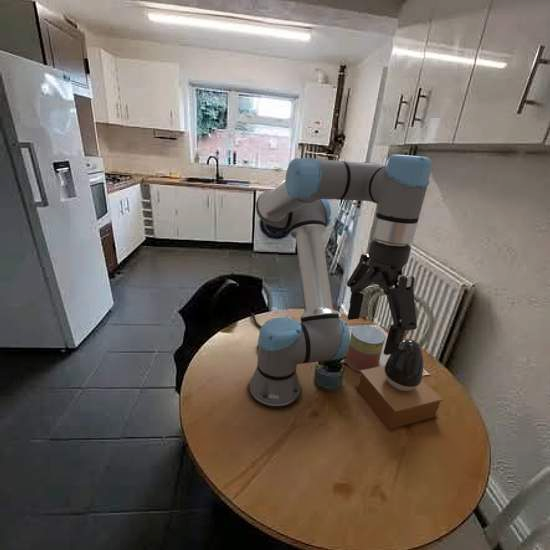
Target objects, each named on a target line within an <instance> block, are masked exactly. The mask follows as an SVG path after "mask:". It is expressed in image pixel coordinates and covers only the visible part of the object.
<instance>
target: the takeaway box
mask: <svg viewBox="0 0 550 550" xmlns="http://www.w3.org/2000/svg"><path fill="white" fill-rule="evenodd" d="M384 369H385V365H382V366H378V367H375V368H370V369H365V370H360V372H359V373H360V375H359V380H358V385H357V390H358V391H359V392H360V394H361V395H362V396H363V398H364V399H365V400H366V401H367V402H368V404H369V405H370V406H371V407H372V409H373V410H374V411H375V413H376V414H377V415H378V416H379V418H380V419H381V420H382V422H383V423H384V424H385V425H386V426H387V428H388V430H392V429H395V428H399V427H403V426H407V425H410V424H411V425H412V424H414V423H418V422H422V421H425V420H429V419H433V418H436V414H437V411H438V409H439V406H440V404H441V402H443V401H444V398H442V396H440V395H439V393H437V392H436V391H435V390H434V389H433V388H432V387H430V385H428V384H427V383H426V382H425V381H424V380H423V379H422V380H421V383H420V384H419V385H418V386H417V387H416V388H414V389H413V390H410V391H402V390H398V389H396V388H394V387H393V386H392V385H391V384H390V383H389V382H388V381H387V378H386V375H385V370H384Z"/></svg>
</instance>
